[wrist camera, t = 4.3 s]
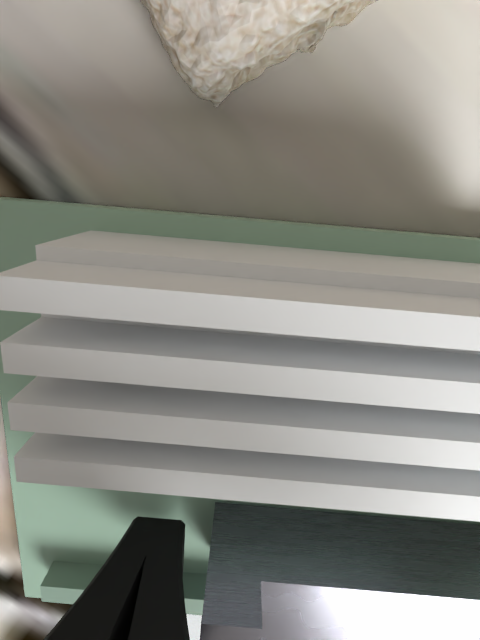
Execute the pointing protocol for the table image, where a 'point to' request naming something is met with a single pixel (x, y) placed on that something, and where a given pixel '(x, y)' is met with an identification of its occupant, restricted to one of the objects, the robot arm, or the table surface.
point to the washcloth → (241, 36)
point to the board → (227, 377)
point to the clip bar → (339, 577)
